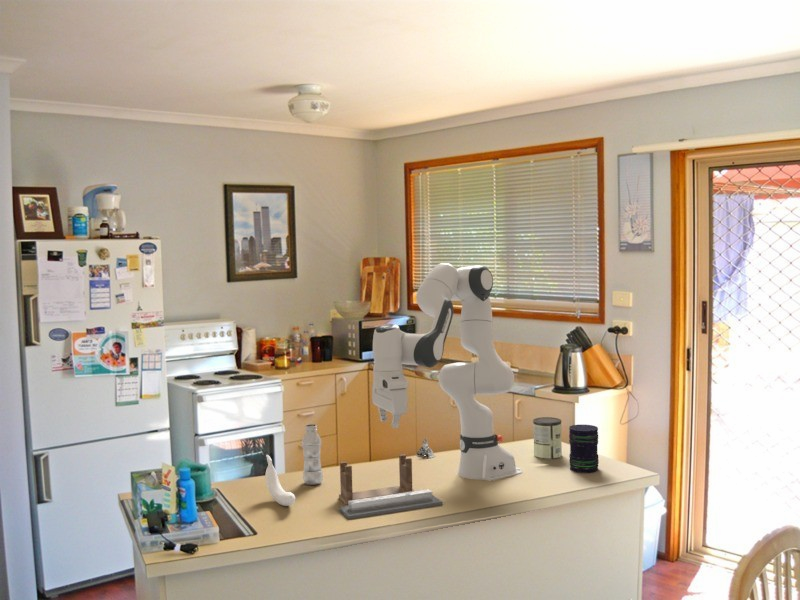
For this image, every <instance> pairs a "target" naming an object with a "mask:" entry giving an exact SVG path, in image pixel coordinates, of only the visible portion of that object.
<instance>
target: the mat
mask: <svg viewBox="0 0 800 600" xmlns="http://www.w3.org/2000/svg"><path fill="white" fill-rule="evenodd" d="M443 503H444V502H443V500H440V499H439V498H438V497H436V496H434V494H432V500H428V501H421V502H414V503H408V504H401V505H395V506H388V507H381V508H375V509H368V510H361V511H355V512H351V511H350V510H349V505H343V506H339V507H338V511H339V512H341V514H342V515H343V516H344V517H345V518H346V519H347V520H355V519H359V518H365V517H366V518H368V517H372V516H379V515H386V514H393V513H398V512H399V513H400V512H405V511H412V510H420V509H423V508H424V509H425V508H431V507H432V508H433V507H437V506H443Z"/></svg>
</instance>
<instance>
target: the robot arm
mask: <svg viewBox="0 0 800 600" xmlns="http://www.w3.org/2000/svg"><path fill="white" fill-rule="evenodd" d="M493 277H494V276H493V275H492V271H490V269H489V268H488V267H487V266H484V265H474V266H462V267H461V266H460V267H459V268H456V267H455V266H453V265H452V264H451V263H448V262H447V263H446V262H440V263H438V264H436V265H435V266H434V267H433V268H432V269H431V270H430V271H429V272H428V273H427V275H426V276H425V278H424V279H423V280H422V283H421V284H420V286H419V287H418V288H417V292H416V296H415V298H416V299H415V300H416V303H417V305H418V307H419V309H420V310H421V312H423V313H424V314H425V315H427V316H429V317H431V318H433V321H432V325H431V328H430V331H427V332H425V333H411V332H410V333H409V332H406V331H403V330H401V329H400V326H399V325H398V324H396V323H395V324H394V323H387V324H381V325H378V326H377V327H376V328H375V329H374V330H373V331H374V332H373V336H372V338H373V339H372V357H373V358H372V359H373V361H374V362H373V363H374V364H373V368H372V369H373V370H372V371H373V372H372V373H373V375H372V376H373V378H372V379H373V383H372V390H371V391H372V392H371V393H372V395H371V397H372V399H371V400H372V404H373V405H374V406H377V408H378V412H379V413H378V414H379V419H380V421H381V422H382V423H384V422H385V423H386V422H388V415H387V412H388V413H391V416H392V421H391V427H392V429H393V428H394V429H398V428H399V427H400V419H401V416H403V415H406V414H407V411H408V400H409V399H408V396H409V395H408V390H407V389H408V388H409V381H408V379H407V378H406V376H405V374H404V373H403V372H404V371H403V369H404V368H403V365H409V366H419V367H424V368H434V367H435V366H437V364H439V362H440V361H441V360H442V357H443V356H444V348H445V343H446V339H447V336H448V333H449V330H450V327H451V324H452V320H453V316H454V305H453V302H452V301H454V302H455V301H456V302H458V301H459V302H461V312H460V338H459V339H460V340H459V341H460V344H461V345H460V346H461V347H462V349H464V350H466V351H468V352H470V353H472V354H474V355H476V356H477V358H478V361H476V362H474V361H473V362H470V361H469V362H462V361H461V362H453V363H452V362H451V363H447V364H444V365H443V366H442V367H441V369H440V370H439V373H438V385H439V386H440V388H441V390H442V391H444V393H446V394H447V395H448V396H449V397H450V398H451V400H453V401H454V403H455V404H456V407H457V410H458V412H459V418H460V419H459V420H460V421H459V422H460V434H459V451H460V458H459V464H458V465H459V466H458V470H457V476H459V477H462V478H464V479H469V480H481V481H488V482H490V481H494V480H500V479H505V478H508V477H513V476H517V475H520V474H523V470H522V469H521V468H520V467H519V466H516V465H517V464H516V461H515V457H514V455H513V454H512V453H511V452H510V451H508V450H507V449H506V448H504V447H503V446H501V445H500V444H499V442H500V443H502V442H503V441H504V439H505V437H504V436H503V435H501V434H496V433H494V413H493V411H492V410H491V408H489V407H488V406H487V405H485V404H483V403H480V402H479V401H478V400H477V399H476V397H475V395H477V396H478V395H479V396H480V395H484V396H485V395H486V396H487V395H492V396H493V395H495V396H496V395H501V394H506V393H507V394H508V393H509V391H511V390H512V388H513V386H514V383H515V373H514V371H513V370H512V368H511V366H510V365H508V363H506V362H505V361H504V360H502V358H501V357H500V356H499V354H498V353H497V351H496V348H495V345H494V344H495V342H494V335H493V334H494V333H493V311H492V310H493V309H492V303H491V299H490V295H491V293H492V290H493V287H494V278H493Z"/></svg>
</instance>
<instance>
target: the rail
mask: <svg viewBox="0 0 800 600" xmlns="http://www.w3.org/2000/svg"><path fill="white" fill-rule="evenodd" d="M432 495H433V491H432V490H430V489H429V488H426V489H419V490H414V491H412V492H405V493H398V494H391V495H385V496H378V497H371V498H364V499H357V500H350V501H348V504H347V506H349V510H350V511H351V512H355V511H361V510H368V509H375V508H381V507H388V506H395V505H401V504H408V503H414V502H421V501H428V500H432Z"/></svg>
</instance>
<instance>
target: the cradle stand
mask: <svg viewBox="0 0 800 600" xmlns="http://www.w3.org/2000/svg"><path fill="white" fill-rule="evenodd" d="M398 460H399V461H398V462H399V463H398V464H399V467H398V468H399V471H398V472H399V485H396V486H389V487H383V488H382V487H381V488H375V489H368V490H362V491H354V492H353V467H352V465H348V462H347V461H341V462H339V475H340V477H339V478H340V479H339V480H340V493H339V494H338V499H339V501H341V502H342V503H343V504H345V505H348V501H350V500H357V499H364V498H371V497H378V496H385V495H391V494H398V493H405V492H412V491H415V489H413V466H412V465H413V459H412V458H411V457H407V454H399V455H398Z"/></svg>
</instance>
